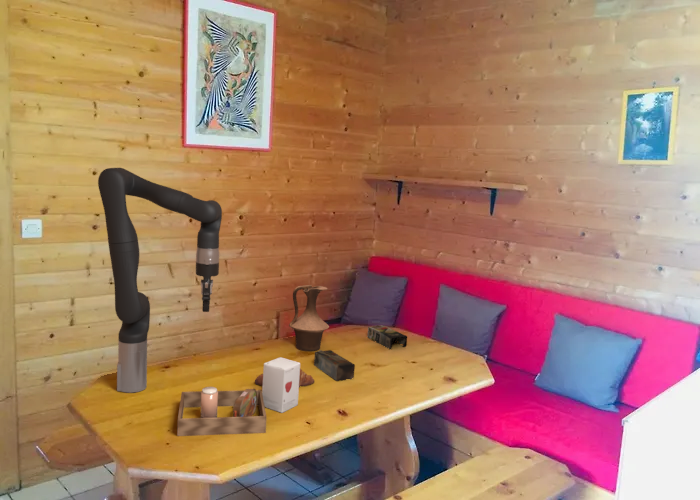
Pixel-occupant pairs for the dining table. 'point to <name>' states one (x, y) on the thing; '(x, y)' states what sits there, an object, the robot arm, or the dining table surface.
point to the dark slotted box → (386, 336)
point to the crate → (220, 423)
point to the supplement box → (281, 384)
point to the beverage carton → (334, 365)
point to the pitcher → (308, 320)
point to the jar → (209, 402)
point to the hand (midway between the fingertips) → (206, 308)
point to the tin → (245, 404)
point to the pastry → (303, 379)
